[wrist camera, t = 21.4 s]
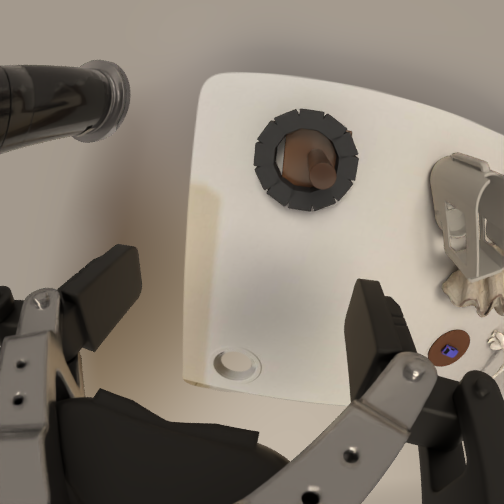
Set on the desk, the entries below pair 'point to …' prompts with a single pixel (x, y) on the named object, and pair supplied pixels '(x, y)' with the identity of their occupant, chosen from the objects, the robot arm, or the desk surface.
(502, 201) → the cable organizer
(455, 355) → the round brown coaster
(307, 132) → the rack
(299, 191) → the dark grey segmented ring
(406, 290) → the desk surface
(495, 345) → the dragon
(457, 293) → the seashell
